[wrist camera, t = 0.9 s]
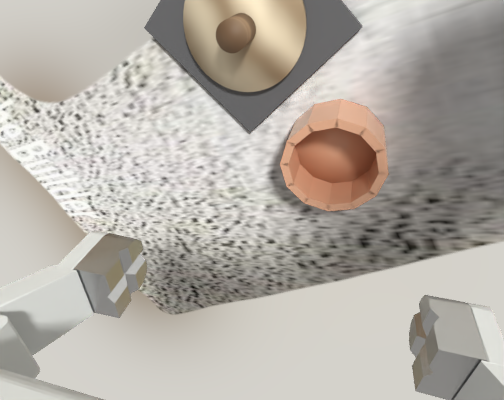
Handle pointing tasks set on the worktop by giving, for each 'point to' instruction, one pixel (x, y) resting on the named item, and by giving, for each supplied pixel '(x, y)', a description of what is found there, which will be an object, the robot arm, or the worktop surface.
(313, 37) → the mat
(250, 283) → the worktop surface
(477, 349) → the robot arm
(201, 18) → the lid
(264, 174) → the worktop surface
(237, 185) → the worktop surface
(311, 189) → the bowl
